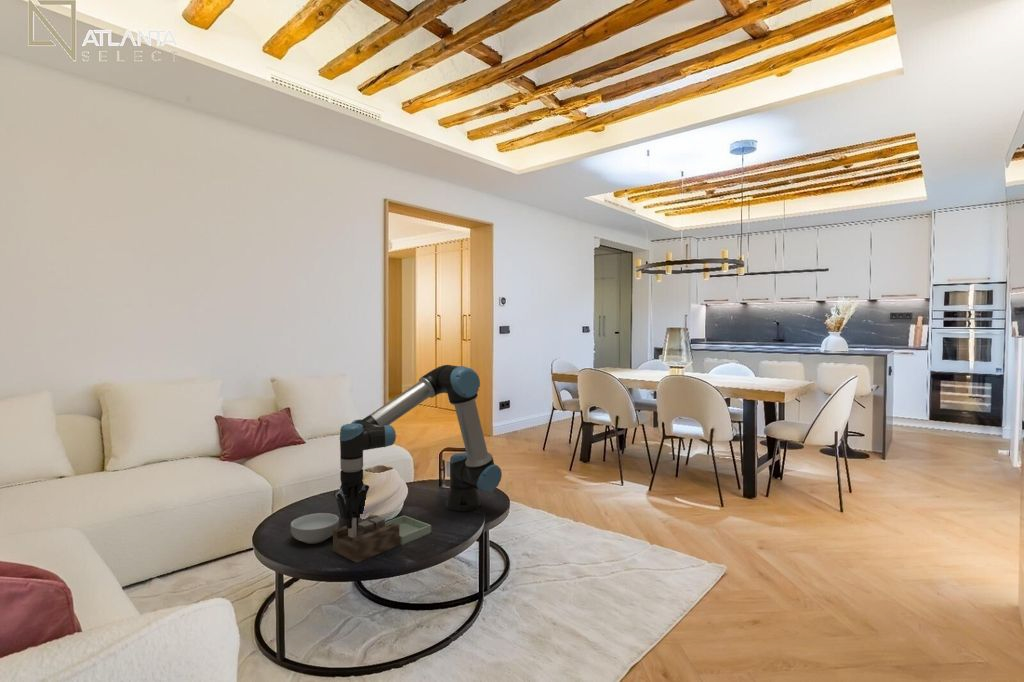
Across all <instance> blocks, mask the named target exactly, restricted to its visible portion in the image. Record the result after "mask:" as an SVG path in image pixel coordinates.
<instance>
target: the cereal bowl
mask: <svg viewBox="0 0 1024 682" xmlns="http://www.w3.org/2000/svg"><path fill="white" fill-rule="evenodd" d="M339 526H340V518H339V516H338V515H337V514H335V513H334V514H333V513H328V512H317V513H310V514H305V515H302V516H300V517H297V518H295V519H293V520H292V521H291V522H290V532H291V535H292V537H293V538H294V539H296V540H297V541H300V542H303V543H305V544H312V545H313V544H318V543H323V542H325V541H326V540H327V539H329V538H331V537H333V530H335V529H338V528H339Z"/></svg>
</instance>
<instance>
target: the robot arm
mask: <svg viewBox="0 0 1024 682" xmlns="http://www.w3.org/2000/svg"><path fill="white" fill-rule="evenodd" d="M480 381H481V380H480V377H479V375H478V373H477V372H476V371H475V370H474V369H473V368H471V367H467V366H465V365H460V366H458V365H452V364H444V365H443V364H442V365H440V366H438V367H436V368H434V369H432V370H431V371H429V372H427V373H425V374H424V375H422V376H420V378H419V379H418V382H417V383H415V384H414V385H411V387H409V388H408V389H406V390H405V391H402V392H401V393H400V394H399V395H397V396H396V397H393V399H391V400H389V401H388V402H386V403H385V404H383V405H382V406H381V407H379V408H378V409H376V410H375V411H374V412H372V413H370V414H369V415H367V416H366V417H364V418H362V419H355V420H353V421H352V422H350V423H346V424H343V425H342V426H341V427H340V432H339V451H340V458H339V459H340V461H339V463H340V473H339V475H340V480H339V481H340V483H341V484H340V486H339V490H338V491H337V492H334V494H333V496H334V498H335V499H336V502H337V506H338V510H339V514H340V518H341V519H344V520H346V522H345V523H346V524H345V526H346V527H347V528H348V536H349V537H351V538H355V537H357V526H358V518H360V514H363V511H364V506H365V500H366V497H367V495H368V491H369V489H370V485H368V484H365V483H364V480H363V479H364V469H363V468H364V451H368V450H374V449H379V448H381V449H382V448H387V447H390V446H393V445H394V444H395V442H396V440H397V439H396V438H397V437H396V436H397V434H396V430H395V428H394V427H393V425H391V424H392V423H394V422H395V421H397V420H398V419H399V418H401V417H403V416H404V415H406V414H407V413H409V412H410V411H411V410H413V409H414V408H415V407H417V406H419V405H421V403H423V402H424V401H425V400H427V399H429V398H430V399H431V398H432V399H433V398H434V397H436V396H438V395H440V394H447V397H448V401H449V402H448V403H450V404H451V405H453V406H454V408H455V413H456V417H457V421H458V422H457V423H458V424H459V428H460V429H459V430H460V433H461V437H462V440H463V444H464V449H465V452H464V451H463V452H458V453H453V454H452V455H451V456H450V459H449V490H448V493H447V498H446V500H445V507H446V509H448V510H451V511H455V512H470V511H475V510H477V509H479V508H480V507H481V497H480V495H479V492H478V491H480V492H484V493H490V492H493V491H494V490H495V489H497V487H498V486H499V484H500V482H501V480H502V476H503V475H502V474H503V473H502V469H501V467H500V466H499V465H497V464H495V462H494V457H493V455H492V454H491V453H490V452H488V448H487V443H486V440H485V435H484V432H483V428H482V423H481V419H480V416H479V411H478V407H477V403H476V399H477V398H478V396H479V395H478V392H479V391H480V387H481V382H480Z"/></svg>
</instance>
